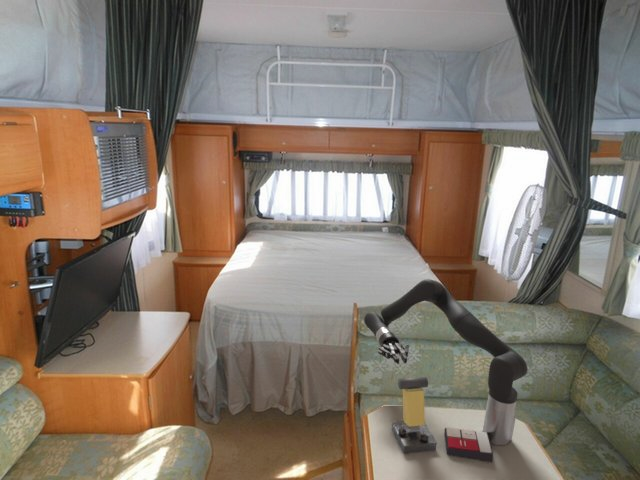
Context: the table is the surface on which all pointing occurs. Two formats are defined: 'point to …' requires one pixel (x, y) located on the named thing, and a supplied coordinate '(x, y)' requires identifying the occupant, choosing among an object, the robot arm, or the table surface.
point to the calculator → (468, 444)
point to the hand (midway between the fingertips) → (402, 361)
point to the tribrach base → (413, 438)
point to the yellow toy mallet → (413, 401)
